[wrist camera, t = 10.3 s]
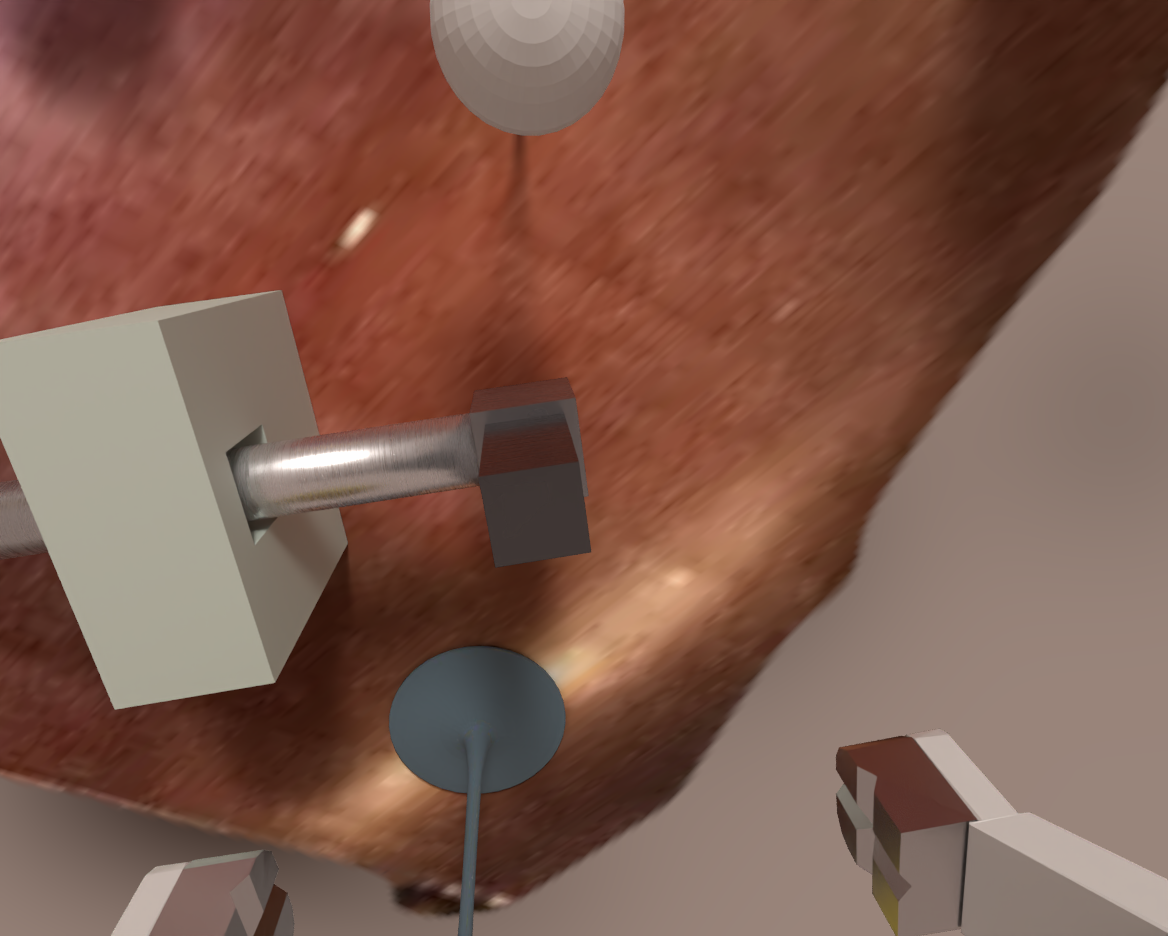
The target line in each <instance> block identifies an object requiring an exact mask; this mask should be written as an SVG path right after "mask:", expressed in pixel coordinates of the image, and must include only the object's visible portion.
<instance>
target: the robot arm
mask: <svg viewBox="0 0 1168 936" xmlns="http://www.w3.org/2000/svg"><path fill="white" fill-rule="evenodd" d="M836 770H837V772H838V773H839V775H840V777H841V779H842V780H843V782H844V784H843V785H842V787H841V788H840V790H839V791H838V792H837V794H836V799H837V814H838V818H839V823H840V827H841V831H842V834H843V837H844V839H845V842H846V844H847V847H848V849H849V851H850V853H851V855H852V857H853V859H854V861H855V862H856V864H857V865H858V866H859V867H861V868H863V869H864V870H866V871H867V872H869V873H870V874H872V894H873V895H874V897H875V899H876V901H877V902H878V904H879V906H880V908H881V910H882V912H883V913H884V915H885V917H886V919H887V921H888V922H889V924H890V926H891V928H892V930H893V931H894V933H895V935H896V936H920V935H926V934H932V933H939V932H945V931H951V930H957V929H961V933H962V934H963V935H965V936H1168V879H1165V878H1163V877H1161V876H1159V875H1157V874H1155V873H1153V872H1151V871H1149V870H1147V869H1145V868H1143V867H1141V866H1139V865H1137V864H1135V863H1132V862H1131V861H1129V860H1127V859H1124V858H1122V857H1120V856H1118V855H1116V854H1114V853H1112V852H1110V851H1108V850H1106V849H1104V848H1102V847H1100V846H1098V845H1096V844H1094V843H1092V842H1090V841H1088V840H1086V839H1084V838H1082V837H1079V836H1077V835H1075V834H1073V833H1071V832H1069V831H1067V830H1065V829H1063V828H1061V827H1059V826H1057V825H1055V824H1053V823H1051V822H1049V821H1047V820H1044V819H1043V818H1041V817H1039V816H1037V815H1034V814H1032V813H1030V812H1026V813H1020V814H1019V813H1017V811H1016V810H1015V809H1014V808H1013V807H1012V805H1011V804H1010V803H1009V802H1008V801H1007V800H1006V799H1005V798H1004V796H1003V795H1002V794H1001V793H1000V792H999V791H998V790H997V789H996V787H995V786H994V785H993V784H992V783H991V782H990V781H989V779H988V778H987V777H986V776H985V775H984V774H983V773H982V772H981V770H980V769H979V768H978V767H977V766H976V765H975V764H974V763H973V762H972V760H971V759H970V758H969V757H968V756H967V755H966V754H965V752H964V751H963V750H962V749H961V748H960V747H959V746H958V744H957V743H956V742H955V741H954V740H953V739H952V738H951V737H950V735H949V734H948V733H947V732H945V731H943V730H941V729H934V730H929V731H924V732H919V733H913V734H908V735H906V736H898V737H893V738H887V739H883V740H877V741H871V742H866V743H861V744H856V745H850V746H845V747H840V748H839V749H838V752H837V755H836ZM278 870H279V868H278V866H277V863H276V861H275V858H274V856H273V854H272V851H268V850H259V851H252V852H245V853H238V854H232V855H226V856H219V857H212V858H205V859H199V860H193V861H192V862H185V863H178V864H172V865H164V866H158V867H155V868H154V869H153V870H152V871H150V872H149V873H148V874H147V875H146V876H145V877H144V878H143V880H142V882H141V883H140V885H139V887H138V889H137V890H136V892H135V894H134V896H133V898H132V900H131V901H130V903H129V904H128V906H127V908H126V910H125V911H124V913H123V915H122V917H121V919H120V920H119V922H118V924H117V925H116V927H115V929H114V931H113V932H112V934H111V936H293V933H294V918H293V909H292V905H291V902H290V899H289V896H288V893H287V892H285V891H284V890H282V889H281V888H279V887H277V886H276V885H275V884H274V881H275V878H276V876H277V873H278Z"/></svg>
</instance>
